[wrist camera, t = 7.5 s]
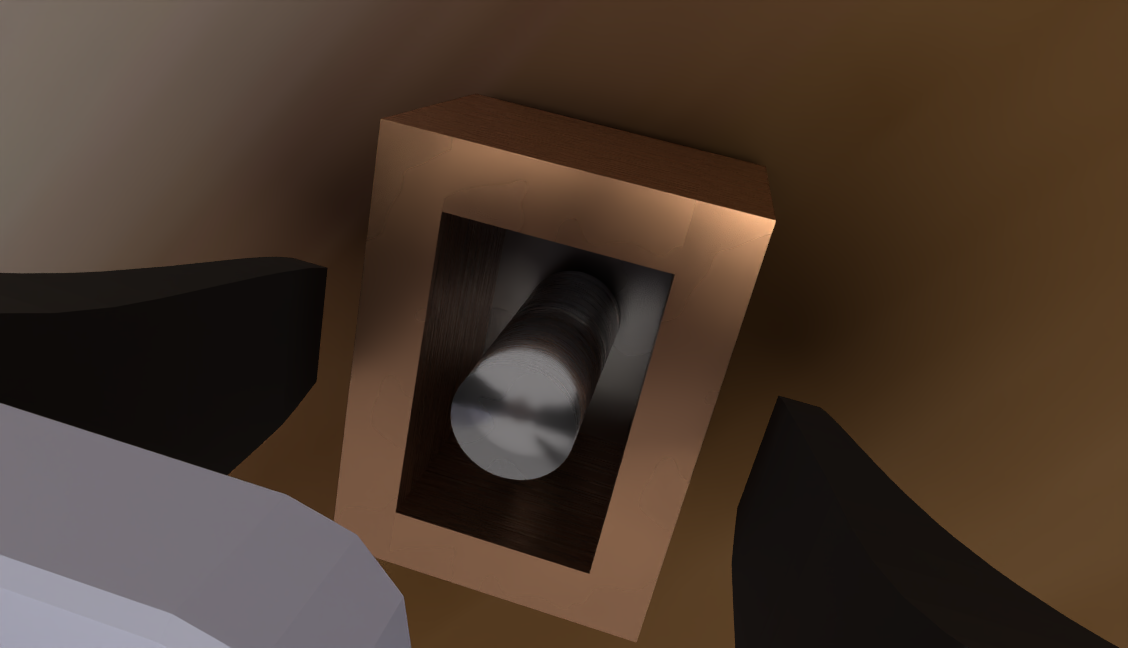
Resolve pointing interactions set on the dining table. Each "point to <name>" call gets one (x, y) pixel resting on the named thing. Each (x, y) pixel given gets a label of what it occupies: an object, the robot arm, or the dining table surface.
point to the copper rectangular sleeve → (458, 331)
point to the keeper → (557, 356)
